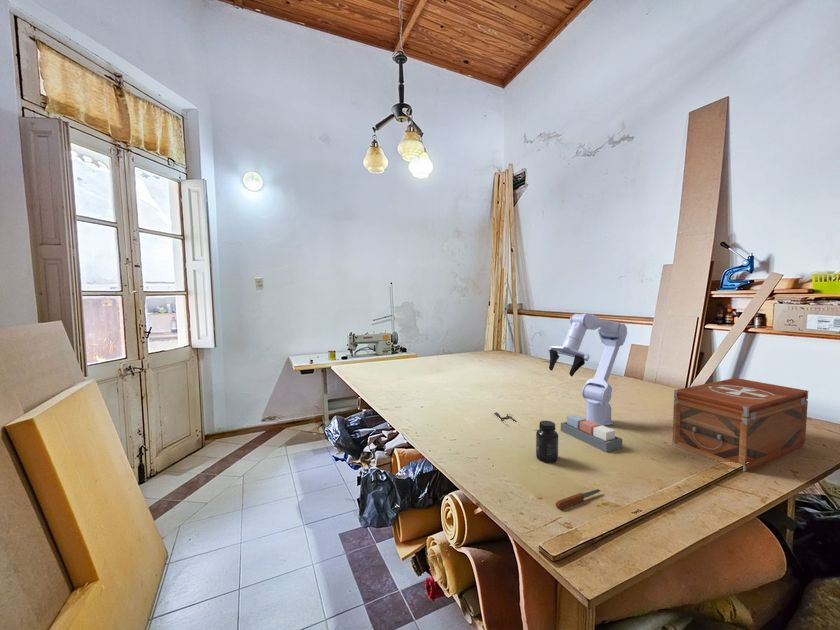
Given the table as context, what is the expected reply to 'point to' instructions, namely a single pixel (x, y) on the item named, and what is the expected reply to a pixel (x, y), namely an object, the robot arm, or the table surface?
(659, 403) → the table surface
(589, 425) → the brick key
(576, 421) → the light blue square block
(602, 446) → the key housing
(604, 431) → the ivory key
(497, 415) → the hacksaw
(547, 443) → the supplement bottle
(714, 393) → the wooden box
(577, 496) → the chisel
